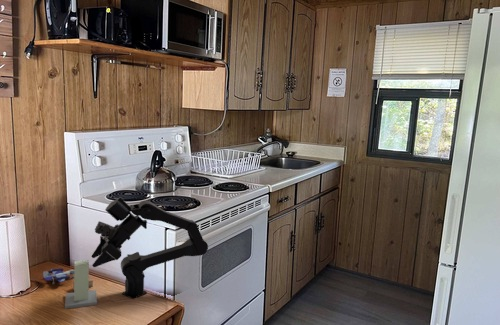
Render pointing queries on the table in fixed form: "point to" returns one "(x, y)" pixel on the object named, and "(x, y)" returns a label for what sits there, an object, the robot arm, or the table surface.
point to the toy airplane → (57, 275)
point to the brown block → (89, 283)
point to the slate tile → (73, 304)
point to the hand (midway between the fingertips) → (92, 261)
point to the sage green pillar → (81, 280)
